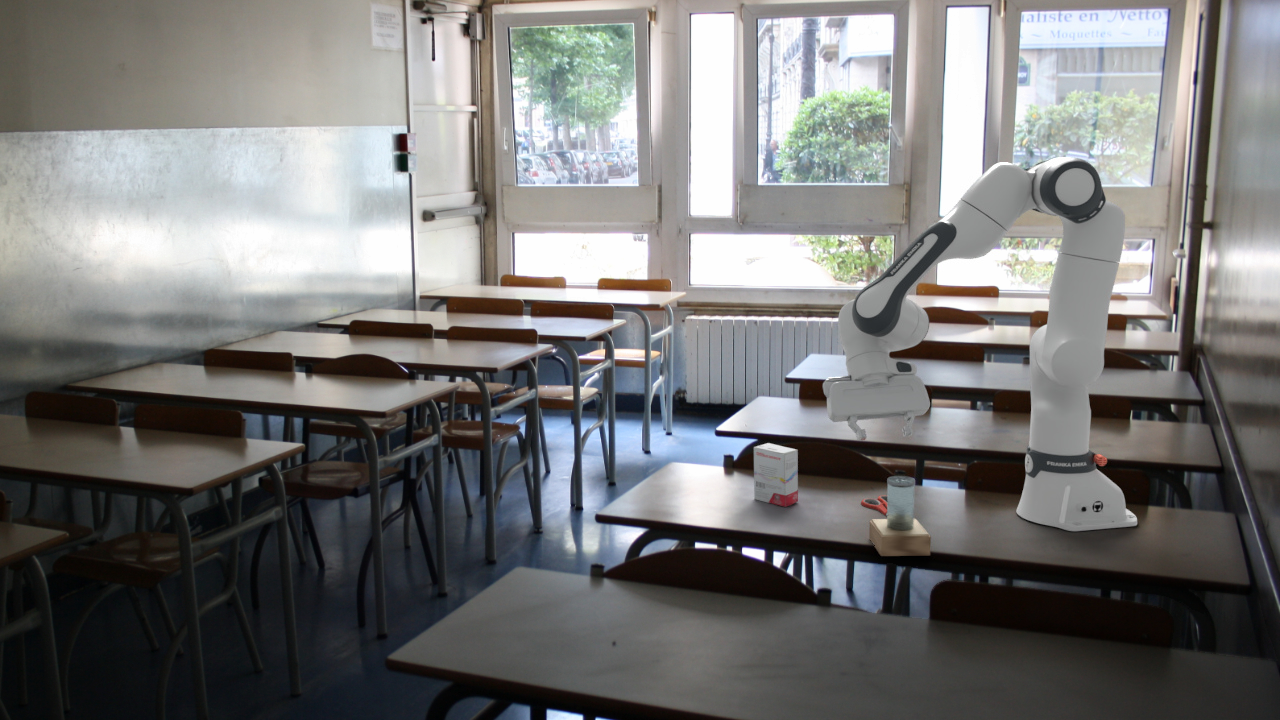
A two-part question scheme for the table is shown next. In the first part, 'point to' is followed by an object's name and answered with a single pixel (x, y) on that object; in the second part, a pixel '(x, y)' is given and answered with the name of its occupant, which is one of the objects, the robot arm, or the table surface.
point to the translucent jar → (900, 503)
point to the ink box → (776, 474)
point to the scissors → (880, 503)
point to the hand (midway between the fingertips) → (885, 437)
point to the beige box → (899, 539)
